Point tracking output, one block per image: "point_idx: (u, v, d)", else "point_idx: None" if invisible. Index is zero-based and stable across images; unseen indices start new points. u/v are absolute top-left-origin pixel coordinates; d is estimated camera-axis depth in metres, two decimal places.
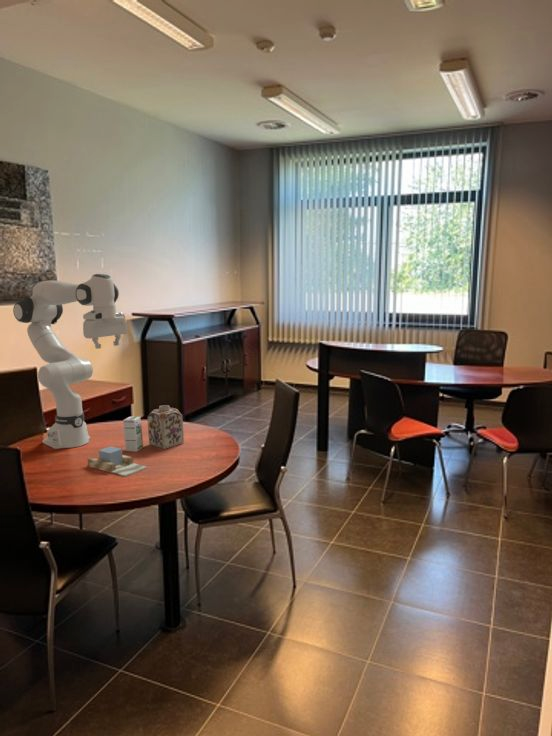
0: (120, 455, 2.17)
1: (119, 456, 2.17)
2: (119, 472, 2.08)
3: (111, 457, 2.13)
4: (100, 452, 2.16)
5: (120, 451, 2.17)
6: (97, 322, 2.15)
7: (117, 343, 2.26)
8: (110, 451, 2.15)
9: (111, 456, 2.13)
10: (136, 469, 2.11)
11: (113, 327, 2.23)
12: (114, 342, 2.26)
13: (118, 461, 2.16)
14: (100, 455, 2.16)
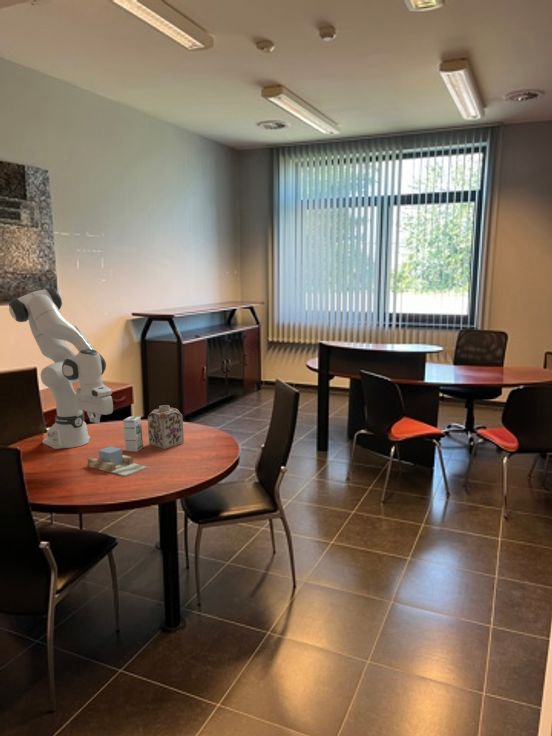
0: (120, 455, 2.17)
1: (119, 456, 2.17)
2: (119, 472, 2.08)
3: (111, 457, 2.13)
4: (100, 452, 2.16)
5: (120, 451, 2.17)
6: None
7: None
8: (110, 451, 2.15)
9: (111, 456, 2.13)
10: (136, 469, 2.11)
11: None
12: (93, 418, 2.20)
13: (118, 461, 2.16)
14: (100, 455, 2.16)
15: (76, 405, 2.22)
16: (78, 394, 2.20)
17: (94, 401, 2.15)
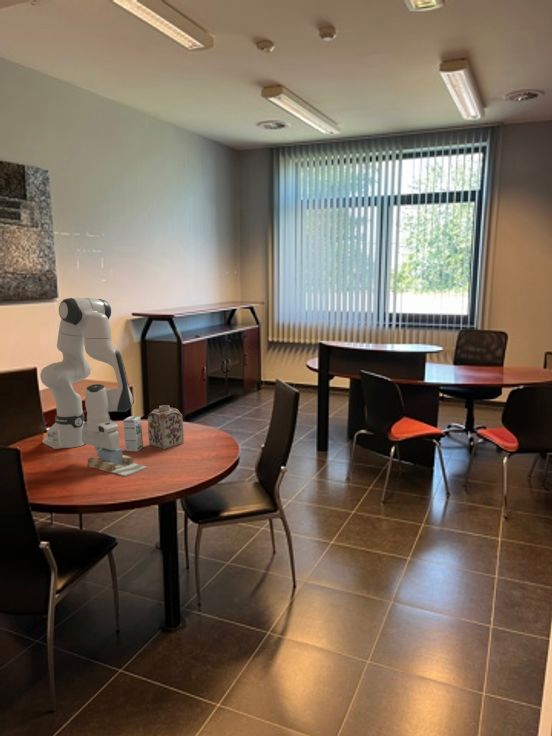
0: (120, 455, 2.17)
1: (119, 456, 2.17)
2: (119, 472, 2.08)
3: (111, 457, 2.13)
4: (100, 452, 2.16)
5: (120, 451, 2.17)
6: None
7: None
8: (110, 451, 2.15)
9: (111, 456, 2.13)
10: (136, 469, 2.11)
11: None
12: None
13: (118, 461, 2.16)
14: (100, 455, 2.16)
15: (83, 439, 2.23)
16: (84, 428, 2.21)
17: (101, 436, 2.16)
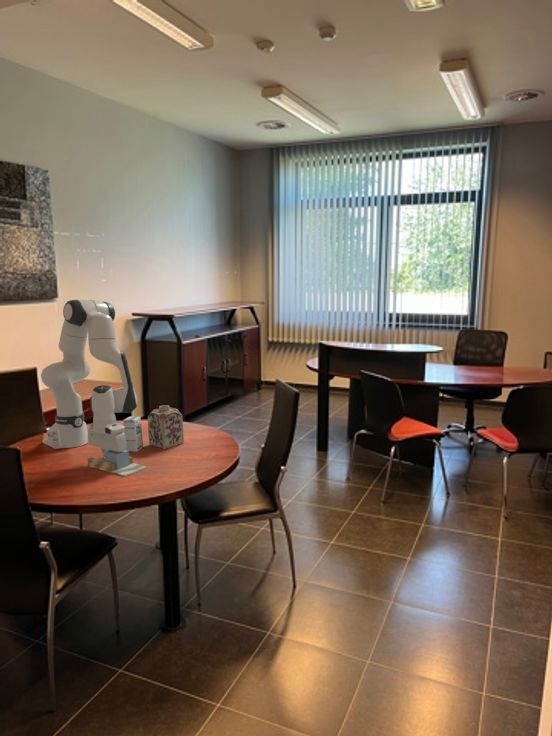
0: (127, 457, 2.15)
1: (126, 458, 2.14)
2: (119, 472, 2.08)
3: (117, 459, 2.11)
4: (106, 454, 2.14)
5: (127, 453, 2.15)
6: None
7: None
8: (117, 453, 2.12)
9: (118, 458, 2.11)
10: (136, 469, 2.11)
11: None
12: None
13: (124, 463, 2.14)
14: (106, 457, 2.14)
15: (89, 441, 2.21)
16: (90, 430, 2.19)
17: (107, 438, 2.14)
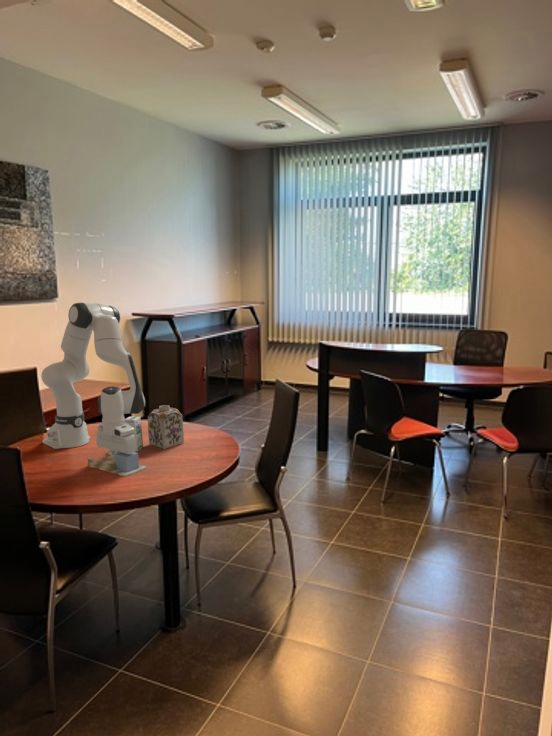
0: (136, 459, 2.12)
1: (135, 460, 2.11)
2: (119, 472, 2.08)
3: (127, 461, 2.08)
4: (116, 456, 2.11)
5: (136, 455, 2.12)
6: None
7: None
8: (126, 455, 2.09)
9: (128, 460, 2.08)
10: (136, 469, 2.11)
11: None
12: None
13: (134, 465, 2.11)
14: (115, 460, 2.11)
15: (97, 443, 2.18)
16: (99, 432, 2.16)
17: (116, 440, 2.11)
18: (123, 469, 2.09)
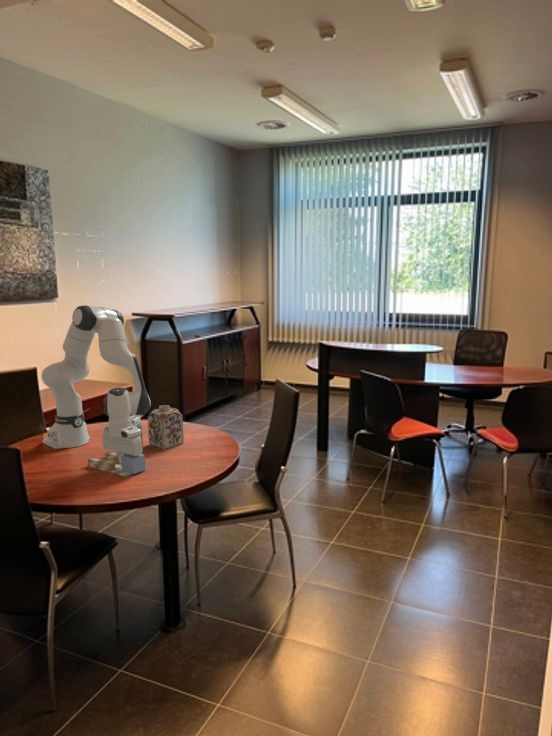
0: (143, 461, 2.09)
1: (142, 462, 2.09)
2: (119, 472, 2.08)
3: (134, 463, 2.06)
4: (122, 458, 2.08)
5: (143, 457, 2.09)
6: None
7: None
8: (133, 457, 2.07)
9: (134, 462, 2.06)
10: None
11: None
12: None
13: (140, 467, 2.09)
14: (122, 461, 2.09)
15: (103, 444, 2.16)
16: (105, 433, 2.14)
17: (123, 442, 2.09)
18: (130, 471, 2.07)
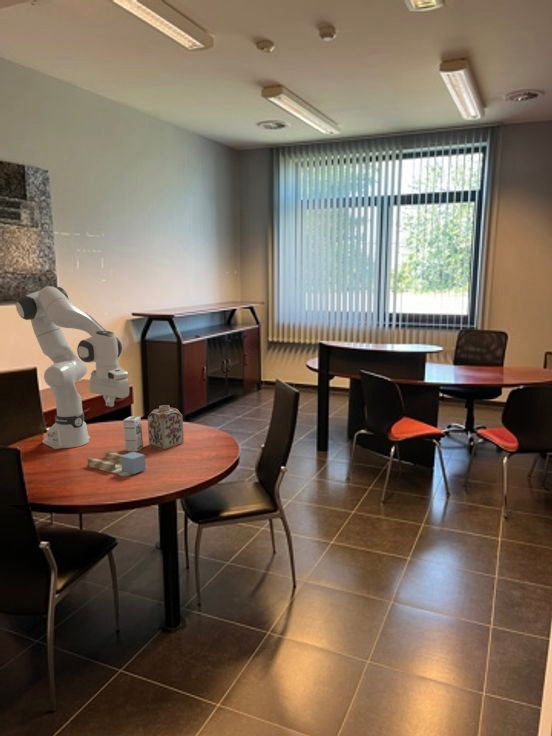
0: (143, 461, 2.09)
1: (142, 462, 2.09)
2: (119, 472, 2.08)
3: (134, 463, 2.06)
4: (122, 458, 2.08)
5: (143, 457, 2.09)
6: None
7: None
8: (133, 457, 2.07)
9: (134, 462, 2.06)
10: None
11: None
12: None
13: (140, 467, 2.09)
14: (122, 461, 2.09)
15: (91, 388, 2.16)
16: (93, 377, 2.14)
17: (110, 384, 2.09)
18: (130, 471, 2.07)
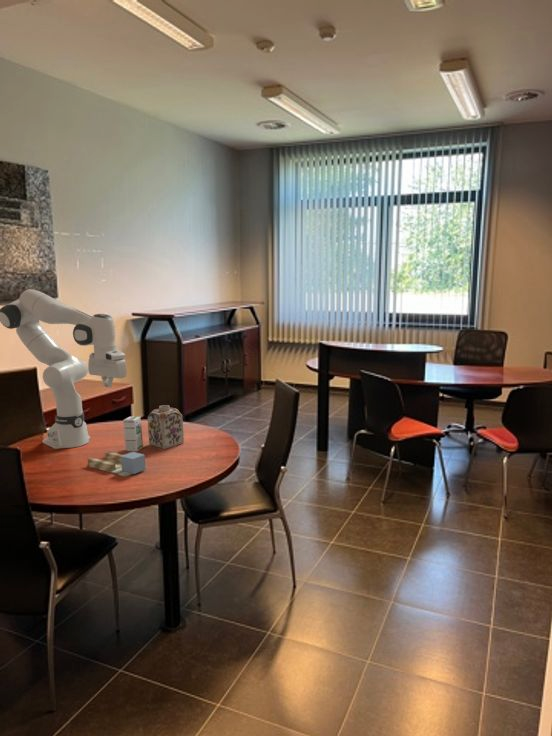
0: (143, 461, 2.09)
1: (142, 462, 2.09)
2: (119, 472, 2.08)
3: (134, 463, 2.06)
4: (122, 458, 2.08)
5: (143, 457, 2.09)
6: None
7: None
8: (133, 457, 2.07)
9: (134, 462, 2.06)
10: None
11: None
12: None
13: (140, 467, 2.09)
14: (122, 461, 2.09)
15: (89, 370, 2.23)
16: (91, 359, 2.21)
17: (108, 365, 2.16)
18: (130, 471, 2.07)
